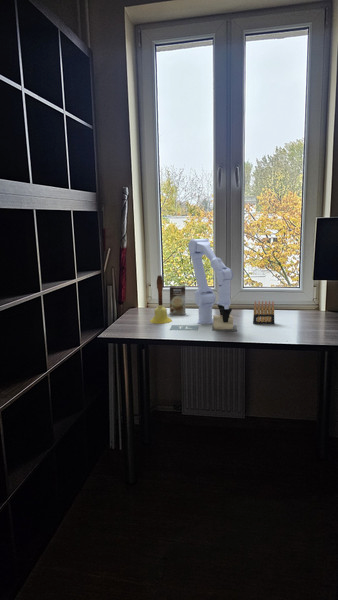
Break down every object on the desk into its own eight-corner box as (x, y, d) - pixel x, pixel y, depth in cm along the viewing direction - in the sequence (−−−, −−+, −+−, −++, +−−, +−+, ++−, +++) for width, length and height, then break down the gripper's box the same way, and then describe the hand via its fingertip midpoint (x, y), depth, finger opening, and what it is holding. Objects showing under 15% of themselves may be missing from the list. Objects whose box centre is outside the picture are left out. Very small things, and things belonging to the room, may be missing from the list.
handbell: (164, 325, 214) (162, 277, 210) (145, 322, 221) (143, 276, 216) (176, 320, 225) (175, 274, 220) (158, 317, 231) (156, 273, 227)
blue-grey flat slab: (171, 325, 214) (171, 325, 214) (198, 325, 212) (198, 325, 212) (169, 330, 204) (169, 330, 204) (197, 330, 202) (197, 330, 202)
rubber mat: (212, 325, 211) (212, 325, 211) (236, 326, 209) (236, 325, 209) (212, 331, 201) (212, 330, 201) (237, 331, 200) (237, 330, 199)
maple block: (213, 326, 208) (213, 315, 206) (231, 326, 208) (231, 314, 207) (214, 329, 203) (214, 317, 201) (232, 329, 203) (232, 317, 202)
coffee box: (169, 315, 237) (169, 287, 234) (169, 312, 244) (169, 285, 241) (185, 314, 237) (185, 287, 234) (185, 312, 243) (185, 285, 240)
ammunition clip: (273, 323, 213) (274, 300, 211) (274, 324, 211) (275, 301, 209) (252, 323, 214) (253, 300, 212) (253, 324, 212) (253, 301, 210)
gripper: (214, 291, 209) (214, 317, 212) (218, 296, 195) (218, 324, 197) (228, 290, 209) (228, 316, 212) (233, 296, 195) (233, 323, 197)
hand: (224, 320), depth 205 cm, fingers open, 7 cm apart
